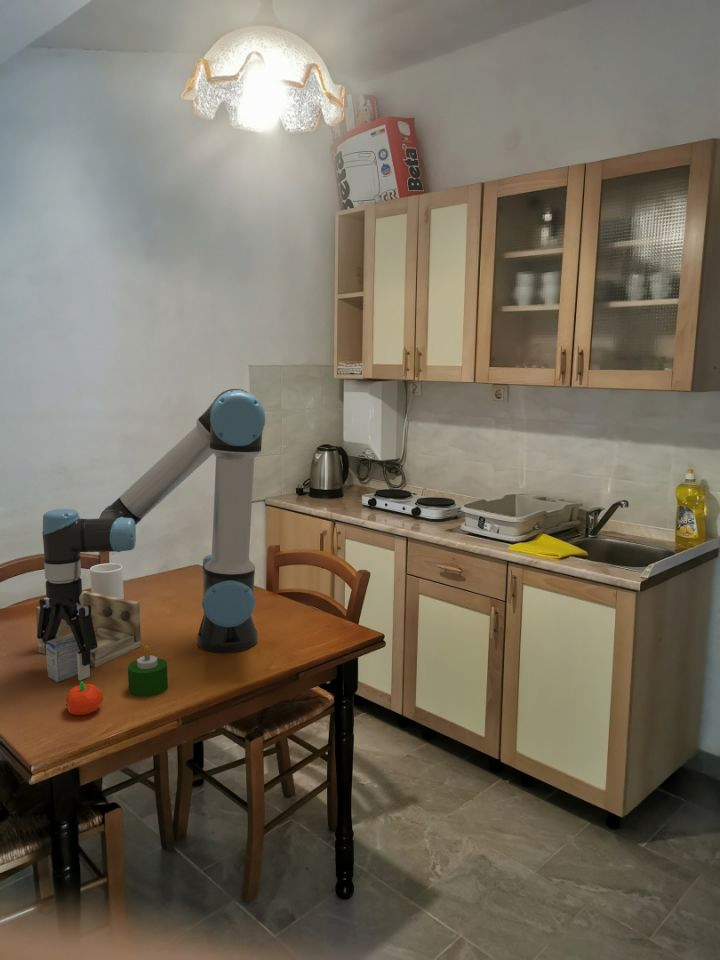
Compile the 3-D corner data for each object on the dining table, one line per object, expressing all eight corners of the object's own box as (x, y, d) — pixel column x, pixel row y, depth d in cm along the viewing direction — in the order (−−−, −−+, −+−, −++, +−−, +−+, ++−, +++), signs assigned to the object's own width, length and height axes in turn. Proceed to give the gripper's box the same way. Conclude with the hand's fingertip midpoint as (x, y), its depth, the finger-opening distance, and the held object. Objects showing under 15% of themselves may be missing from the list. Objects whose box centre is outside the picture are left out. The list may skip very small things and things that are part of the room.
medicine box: (79, 666, 174) (77, 631, 172) (89, 671, 171) (88, 636, 169) (47, 677, 168) (45, 640, 166) (57, 682, 165) (55, 645, 163)
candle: (175, 688, 163) (173, 645, 161) (142, 700, 157) (140, 656, 155) (154, 677, 168) (152, 635, 167) (121, 689, 162) (119, 645, 161)
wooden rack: (141, 646, 186) (139, 602, 184) (95, 667, 173) (93, 620, 171) (86, 632, 195) (83, 590, 193) (38, 652, 181) (35, 607, 180)
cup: (114, 630, 196) (112, 572, 194) (86, 628, 198) (83, 570, 195) (130, 620, 204) (128, 564, 202) (103, 617, 206) (100, 562, 203)
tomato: (74, 725, 147) (68, 696, 145) (63, 710, 153) (58, 682, 152) (110, 711, 151) (104, 683, 149) (98, 697, 157) (93, 669, 156)
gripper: (112, 581, 164) (116, 677, 168) (43, 567, 174) (48, 658, 177) (86, 590, 157) (90, 689, 161) (15, 575, 167) (21, 669, 171)
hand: (68, 673), depth 169 cm, fingers open, 9 cm apart
